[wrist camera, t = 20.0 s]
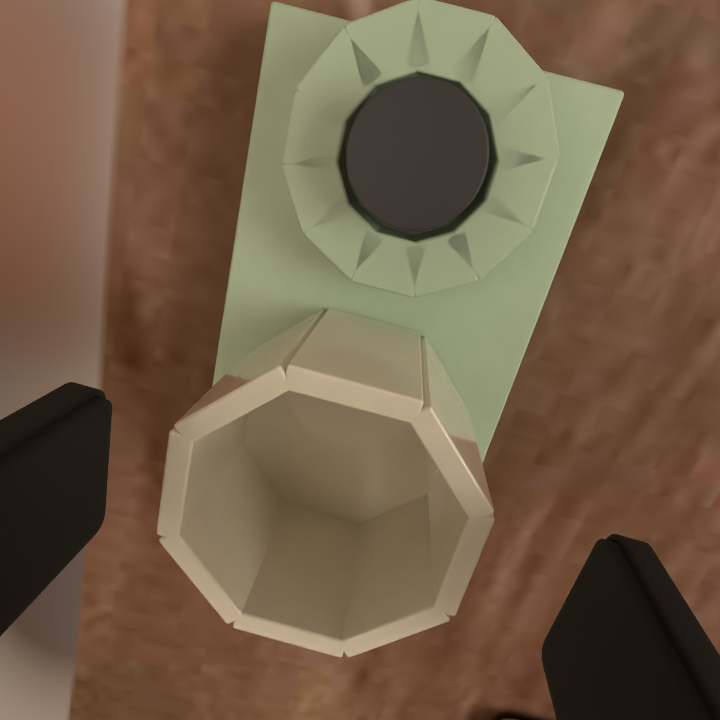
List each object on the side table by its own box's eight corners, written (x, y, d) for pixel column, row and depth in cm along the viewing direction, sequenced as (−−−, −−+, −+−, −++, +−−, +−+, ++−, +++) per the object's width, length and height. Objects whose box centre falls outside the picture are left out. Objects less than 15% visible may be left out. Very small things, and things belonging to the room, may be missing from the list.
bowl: (256, 287, 13) (179, 335, 9) (493, 351, 13) (533, 430, 9) (221, 488, 15) (146, 604, 11) (424, 544, 15) (427, 683, 11)
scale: (287, 8, 12) (248, -49, 9) (607, 90, 12) (668, 59, 9) (205, 512, 17) (164, 575, 14) (427, 573, 17) (430, 649, 14)
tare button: (371, 78, 10) (364, 59, 8) (495, 110, 10) (510, 97, 8) (342, 209, 11) (331, 211, 9) (456, 238, 11) (463, 246, 9)
